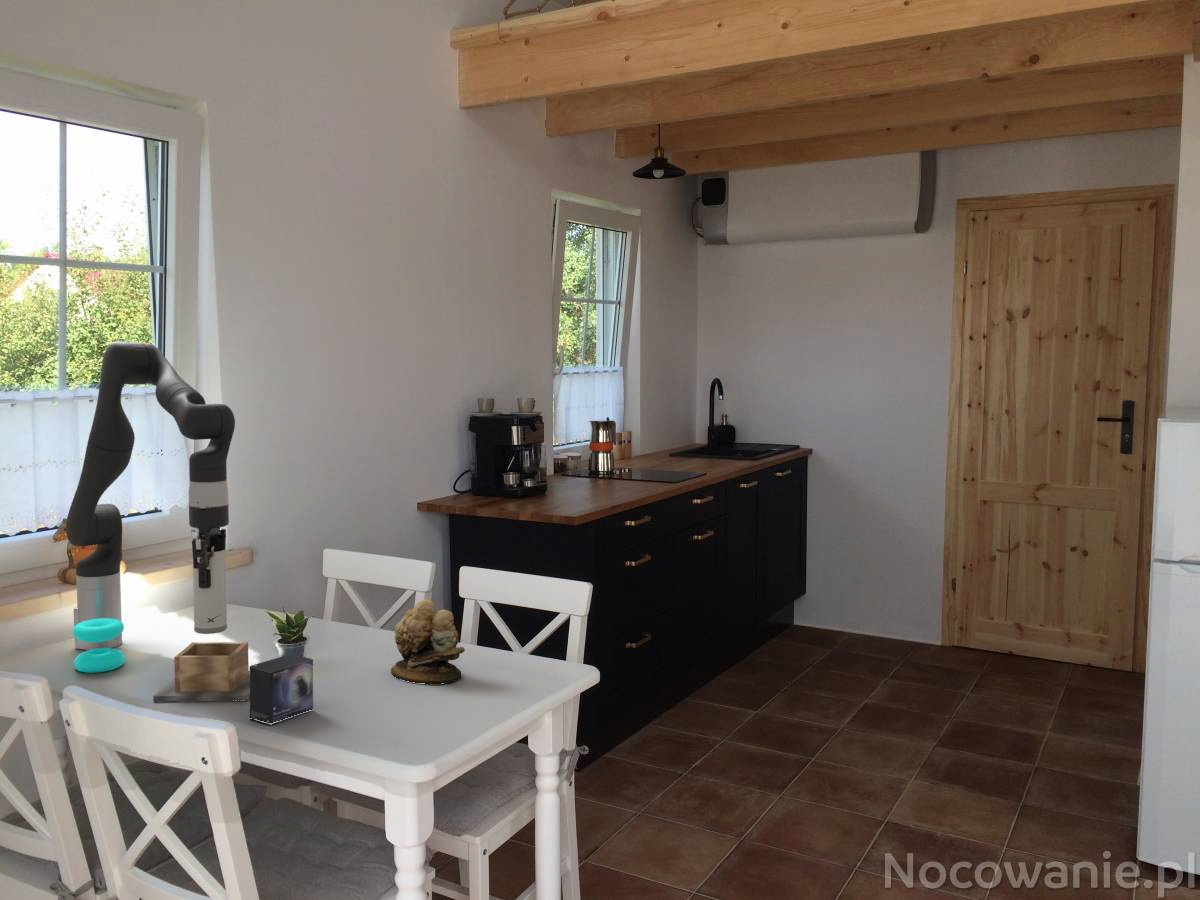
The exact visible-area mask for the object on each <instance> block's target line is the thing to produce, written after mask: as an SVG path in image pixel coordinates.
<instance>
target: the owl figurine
mask: <svg viewBox="0 0 1200 900" xmlns="http://www.w3.org/2000/svg"><path fill="white" fill-rule="evenodd" d="M459 637H460V636H459V631H458V630H456V626H455V625H454V615H453V612H451V611H449V610H447V609H440V610H437V611H436V605H435V603H434V602H433V601H432V600H431V599H428V598H426V599H422V600H420V601H419V602H417V604H416V605H415V606H414V607H413V608H409V609H408V610H407V611H406V612H405V613H404V615H403V617H401V620H400V621H398V623H396V625H395V627H394V642H395V643H396V647H397V650H398V652H399V653H400V655H401V657H402V659H401V660H398V661H397V662H395V665H393V666H392V667H391V669H390V675H391V674H392V675H393V676H394V677H396V678H395V679H397V678H398V679H397V680H399V679H402V680H405V681H409V682H415V683H425V684H441V683H446V684H447V682H452V681H453V682H455V681H457V680H460V679H461V678H462V677H461V675H462V671H461V670H460V669H459V668H458V667H457V666H456V665H455V664H453V663H451V662H449V661H454V660H455V661H456V660H457V659H458V658H460V654H463V653H464V652H465V646H464V647H463V646H460V647H458V646H457V645H458V644H459V641H460V640H459ZM392 675H391V676H392ZM393 676H392V677H393ZM394 677H393V678H394ZM460 677H461V678H460ZM459 678H460V679H459ZM454 680H455V681H454ZM405 681H404V682H405ZM409 682H408V683H409ZM453 682H452V683H453ZM415 683H414V684H415Z"/></svg>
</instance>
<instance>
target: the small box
mask: <svg viewBox="0 0 1200 900" xmlns="http://www.w3.org/2000/svg"><path fill="white" fill-rule="evenodd" d="M249 671H250V698H249V716H248V717H249V718H252V719H257V720H260V721H264V722H267V723H273V722H276V721H280V720H283V719H285V718H288V717H291V716H294V715H297V714H300V713H303V712H306V711H309V710H312V709H313V710H314V659H313V658H311V657H310V658H309V657H305V656H302V655H299V654H294V653H289V654H287V655H283V656H278V657H275V658H273V659H269V660H266V661H262V662H259V663H255V664H253V665H252V664H251V665H249ZM249 718H248V719H249Z"/></svg>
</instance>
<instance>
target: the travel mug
mask: <svg viewBox="0 0 1200 900" xmlns="http://www.w3.org/2000/svg"><path fill="white" fill-rule="evenodd" d="M225 537H226V538H227V533H226V534H220V535H217V537H213V538H211V546H210V548H209V549H207V554H209V553H210V552H211V547H213V546H214V547H215V549H214V554H215V556H214V558H213V559H212V560H211V569H210V570H211V587H210V588H199V575H198V570H197V569H194V567H193V566H192V584H193V585H192V589H193V595H192V596H193V623H194V625H193V628H194V629H193V631H194V632H195V633H197V634H201V635H213V634H218V633H221V632H224V631H226V630H227V629H228V621H227V620H228V616H227V615H228V613H227V612H228V611H227V609H228V608H227V607H228V606H227V602H228V601H227V561H226V560H227V559H226V554H227V553H225V551H226V550H227V549H225ZM193 539H197V537H196V538H194V537H193V538H192V540H193ZM226 552H227V551H226ZM207 559H208V558H207ZM197 560H198V558H197ZM201 562H203V558H202V559H201Z"/></svg>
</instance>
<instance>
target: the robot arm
mask: <svg viewBox="0 0 1200 900" xmlns="http://www.w3.org/2000/svg"><path fill="white" fill-rule="evenodd" d="M99 378H100V379H99V385H98V386H99V387H98V395H97V400H96V406H95V411H94V415H93V419H92V423H91V427H90V432H89V435H88V438H87V439H88V440H87V444H86V448H85V453H84V454H85V455H84V458H83V464H82V468H81V474H80V476H79V480H78V483H77V488H76V490H75V493H74V495H73V498H72V501H71V504H70V507H69V510H68V514H67V517H66V521H65V522H66V523H65V533H66V537H67V540H68V542H69V543H70V544H71V545H72V546H74V547H89V546H96V548H95V549H94V551H93V552H92V553H90V554H89V555H88V556H86V557H84V558H82V559H80V560H79V561H78V562H76V564H75V575H76V576H75V579H76V580H75V581H76V606H75V607H73V628H74V627H75V626H76V625H77V624H79V623H81V622H83V621H87V620H92V619H101V618H111V619H117V620H119V621H121V622H122V596H121V595H122V593H121V591H122V590H121V562H122V559H123V558H122V557H123V554H122V553H123V551H122V550H123V519H122V514H121V511H120V509H119V508H118V507H117V506H116V505H115V504H112V503H102V504H99V501H100V499H101V497H102V496H103V495H104V493H105V492H106V491H107V489H109V488H110V486H112V485H113V483H114V482H115V481H116V480H117V479H118V478H119V477H120V476H121V475H122V474H123V473H124V472H125V470H126V468H128V465H129V463H130V461H131V458H132V453H133V449H134V445H135V439H136V437H135V431H134V430H133V429H134V428H133V426H132V424H131V422H130V420H129V417H128V416H127V414H126V413H125V410H124V408H123V406H122V392H123V388H124V386H125V385H147V384H149V385H153V386H155V391H154V392H155V393H154V394H155V398H156V401H157V402H158V404H159V405H160V406H161V407H162V409H164V410H165V411H166V412H167V413H168V414H169V415H171V416H172V417H173V419H174V421H175V423H176V425H177V427H178V430H179V432H180V434H181V435H182V436H184V437H185V438H187V439H190V440H195V441H197V440H200V441H201V440H209V442H208V445H207V446H206V447H205V448H204V449H201V450H198V451H195V452H193V453H191V455H190V456H189V459H188V461H189V465H188V466H189V472H188V473H189V486H188V525H189V526H190V527H191V528H194V529H197V530H198V534H197V536H196V538H197V539H196V538H195V539H193V538H192V540H191V550H192V568H193V567H194V569H197V570H198V575H199V588H210V587H211V570H210V569H211V560H212V559H213V558H214V556H215V554H214V549H215V547H214V546H213V547H211V552H210V553H209V554H207V549H209V548H210V546H211V538H213V537H217V535H220V534H226V535H227V530H226V528H224V527H227V526H229V523H230V518H229V516H230V513H229V511H230V510H229V509H230V508H229V505H230V504H229V489H228V488H229V487H228V481H227V478H228V475H227V469H228V468H227V461H228V455H229V451H230V448H231V447H230V446H231V444H232V443H231V442H232V440H233V435H234V433H235V429H236V427H235V425H236V419H235V415H234V412H233V410H232V409H231V407H229V406H228V405H227V404H223V403H212V404H211V403H206V400H205V397H204V396H202V394H201V393H200V392H199V391H197V389H195V388H194V387H192V386H191V385H190V384H189V383H187V382H186V381H185V380H184V379H183V378H182V377H181V376H180V375H179V373H178V372H177V371H176V370H175V368H174V367H173V365H172V364H171V363H170V362H169V360H168V359H167V358H166V356H165V355H164V354H163V353H162V351H161V350H160V349H159V348H158V347H157V346H156V345H154V344H153V343H148V342H141V341H113V342H111V343H109V344H108V345H107V347H106V349H105V351H104V353H103V357H102V363H101V369H100V377H99ZM226 540H227V536H226V537H225V549H226V547H227V543H226V542H227V541H226ZM226 550H227V549H226ZM226 552H227V551H225V553H226ZM226 554H227V553H226ZM197 558H198V560H197ZM202 558H203V562H201V559H202ZM207 558H208V559H207ZM122 623H123V622H122ZM73 637H74V649H79V650H84V651H88V650H92V649H97V648H112V647H113V648H117V647H118V645H119V646H120V644H121V643H123V632H122V633H121V634H120V635H119V636H117V637H116V638H114V639H111V640H107V641H102V642H84V641H81V640H78V639H77V638H76V637H75V636H74V635H73ZM121 645H122V644H121Z"/></svg>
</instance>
